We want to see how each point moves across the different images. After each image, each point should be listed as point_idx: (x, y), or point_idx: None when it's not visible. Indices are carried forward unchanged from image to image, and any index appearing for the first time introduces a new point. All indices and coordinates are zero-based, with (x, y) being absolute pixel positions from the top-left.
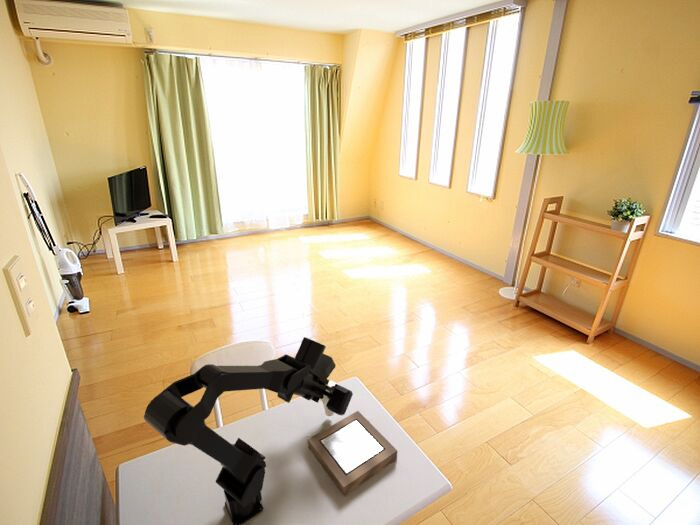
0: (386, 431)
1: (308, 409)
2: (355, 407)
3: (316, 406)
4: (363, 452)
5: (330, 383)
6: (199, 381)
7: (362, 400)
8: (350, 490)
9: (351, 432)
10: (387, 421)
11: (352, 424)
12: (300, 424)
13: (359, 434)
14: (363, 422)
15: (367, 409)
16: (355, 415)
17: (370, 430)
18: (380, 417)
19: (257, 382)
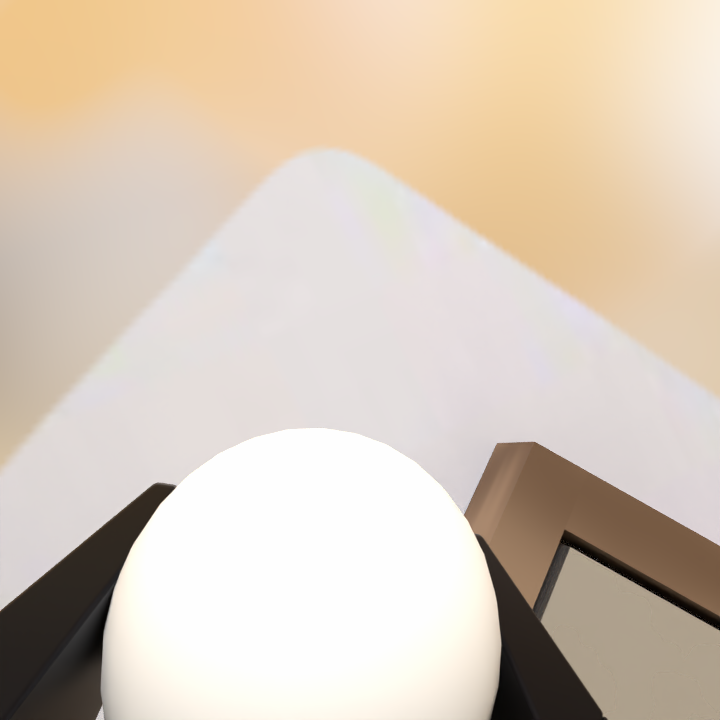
0: (703, 461)
1: (91, 527)
2: (432, 351)
3: (143, 467)
4: None
5: (351, 681)
6: None
7: (446, 270)
8: None
9: (601, 697)
10: (671, 379)
11: (567, 608)
12: (101, 712)
13: (665, 681)
14: (631, 542)
15: (514, 334)
16: (540, 500)
17: (716, 596)
18: (619, 366)
19: None
